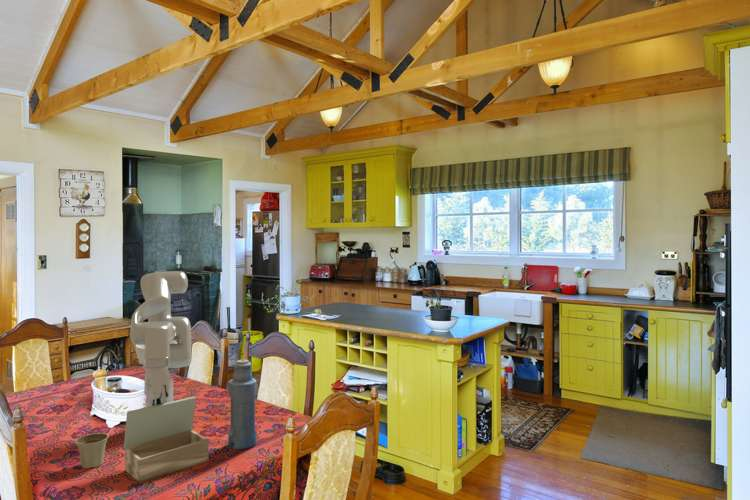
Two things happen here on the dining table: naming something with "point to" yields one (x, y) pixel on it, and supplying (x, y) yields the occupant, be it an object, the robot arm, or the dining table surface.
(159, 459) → the box
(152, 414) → the lid
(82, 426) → the dining table surface
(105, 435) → the flower pot
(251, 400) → the bottle
